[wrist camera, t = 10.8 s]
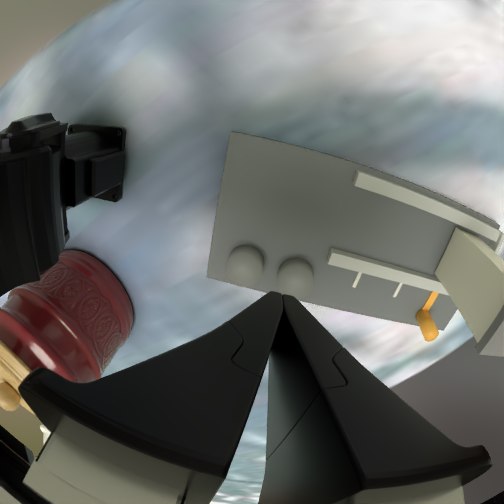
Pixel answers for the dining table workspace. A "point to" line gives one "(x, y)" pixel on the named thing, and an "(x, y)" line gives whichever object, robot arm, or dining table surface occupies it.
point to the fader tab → (476, 288)
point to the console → (336, 233)
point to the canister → (62, 324)
